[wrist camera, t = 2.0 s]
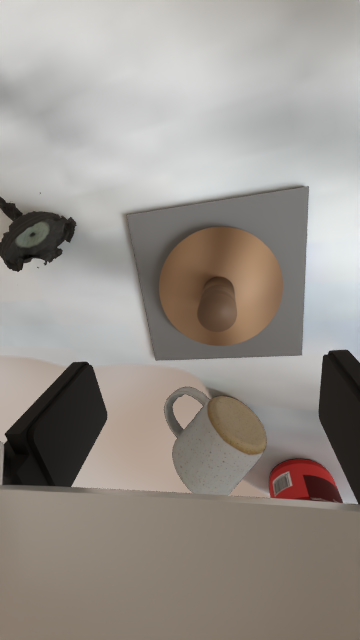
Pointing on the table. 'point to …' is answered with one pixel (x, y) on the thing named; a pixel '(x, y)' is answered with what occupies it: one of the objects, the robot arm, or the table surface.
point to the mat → (243, 213)
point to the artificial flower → (33, 236)
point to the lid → (221, 286)
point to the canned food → (303, 482)
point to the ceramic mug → (215, 443)
